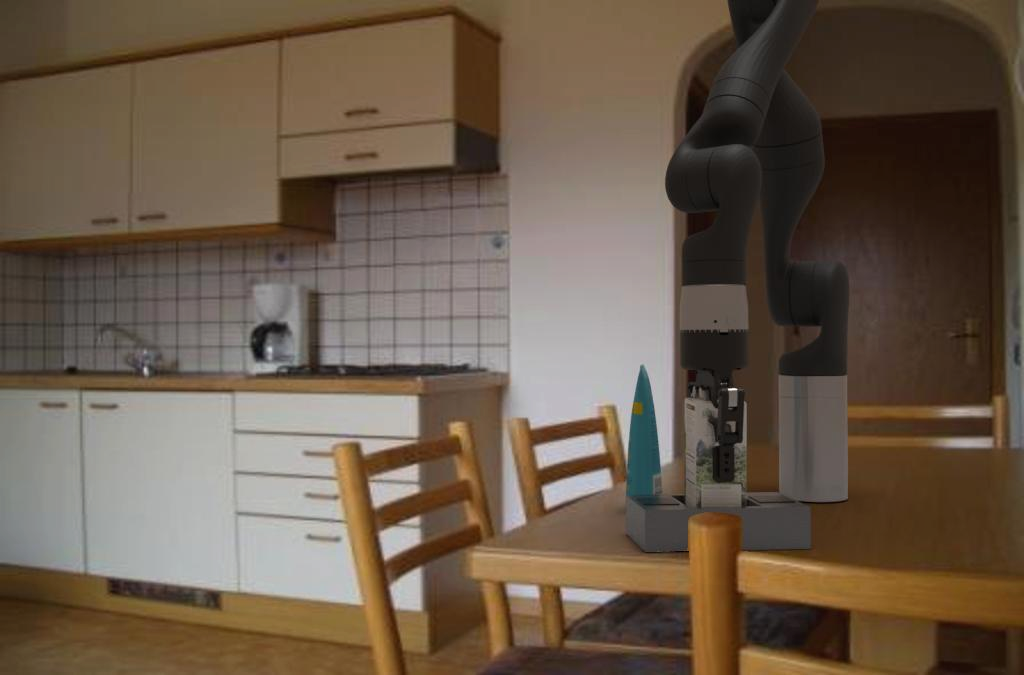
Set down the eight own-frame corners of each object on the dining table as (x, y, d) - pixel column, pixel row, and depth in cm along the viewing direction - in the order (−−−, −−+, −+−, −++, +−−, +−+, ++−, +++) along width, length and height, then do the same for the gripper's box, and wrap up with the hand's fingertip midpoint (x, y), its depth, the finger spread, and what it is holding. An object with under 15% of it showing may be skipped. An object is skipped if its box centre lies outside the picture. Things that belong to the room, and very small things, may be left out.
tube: (624, 507, 130) (623, 363, 130) (661, 507, 130) (660, 363, 130) (626, 517, 123) (625, 365, 123) (665, 517, 123) (664, 365, 123)
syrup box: (733, 522, 112) (732, 395, 112) (747, 532, 106) (747, 398, 106) (684, 522, 111) (683, 396, 111) (695, 533, 105) (694, 399, 105)
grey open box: (626, 533, 113) (625, 494, 113) (777, 530, 114) (777, 491, 114) (645, 552, 103) (644, 509, 103) (810, 548, 104) (810, 505, 104)
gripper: (665, 327, 115) (666, 469, 115) (698, 326, 101) (699, 488, 101) (727, 327, 116) (728, 468, 116) (769, 326, 102) (770, 487, 102)
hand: (714, 477), depth 108 cm, fingers closed on syrup box, 6 cm apart
